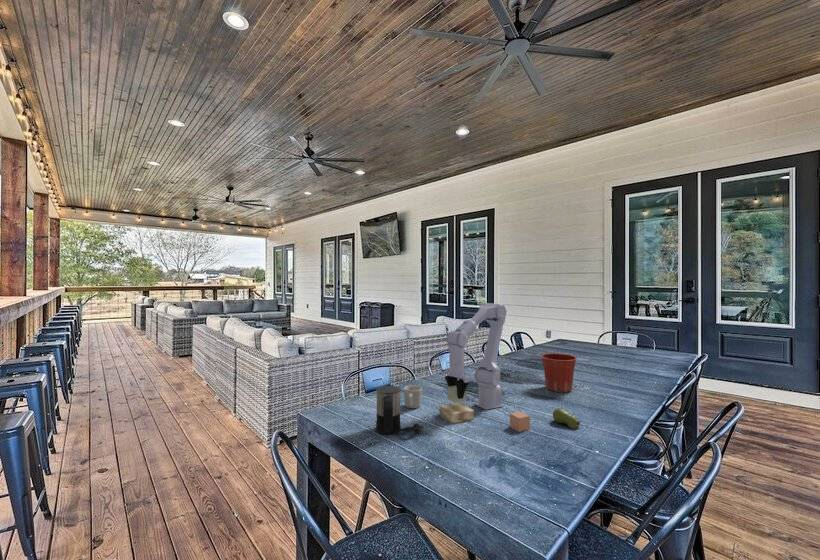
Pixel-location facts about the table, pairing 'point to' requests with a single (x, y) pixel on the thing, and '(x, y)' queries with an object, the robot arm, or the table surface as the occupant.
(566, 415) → the pear
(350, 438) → the table surface
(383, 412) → the milk frother
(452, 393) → the sage cube
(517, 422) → the terracotta cube
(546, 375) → the flower pot
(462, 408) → the base block
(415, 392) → the cup
